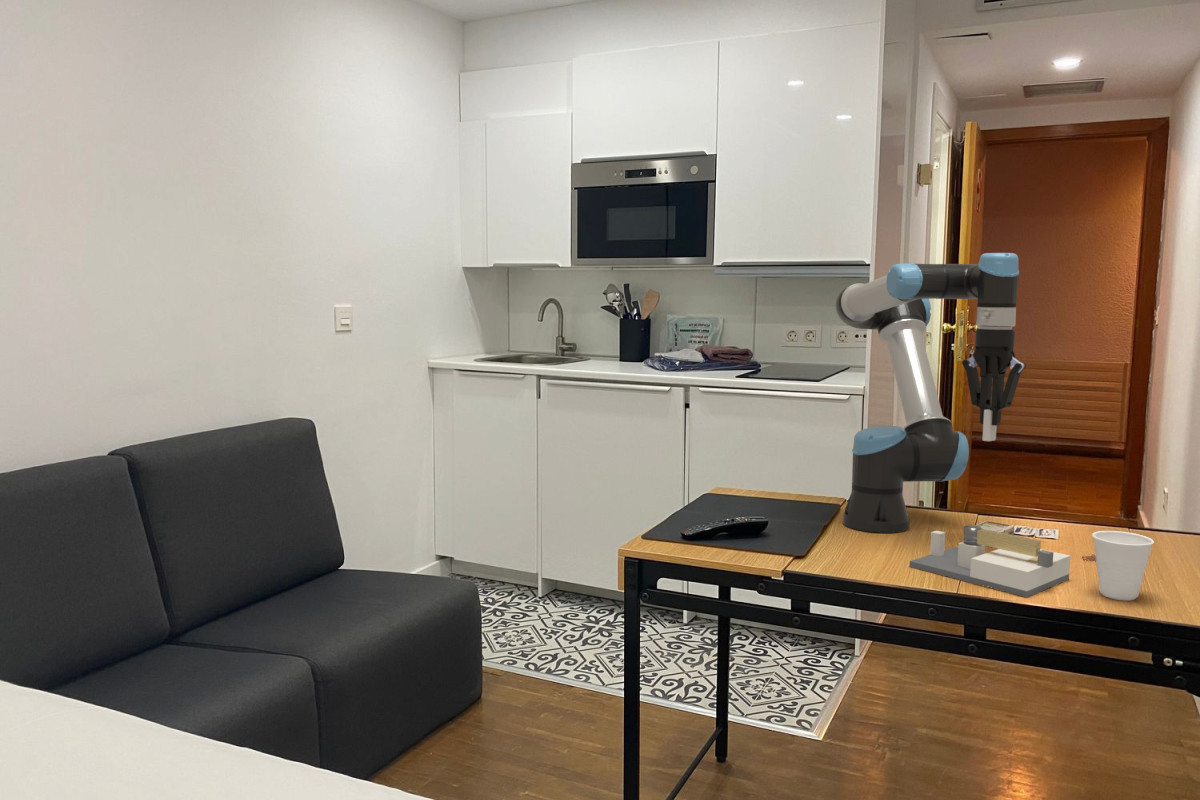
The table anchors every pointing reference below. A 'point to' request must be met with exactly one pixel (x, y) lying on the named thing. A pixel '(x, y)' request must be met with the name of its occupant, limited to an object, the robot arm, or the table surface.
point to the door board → (964, 573)
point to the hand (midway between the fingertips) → (989, 440)
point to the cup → (1121, 562)
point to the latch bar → (1001, 540)
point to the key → (1090, 558)
